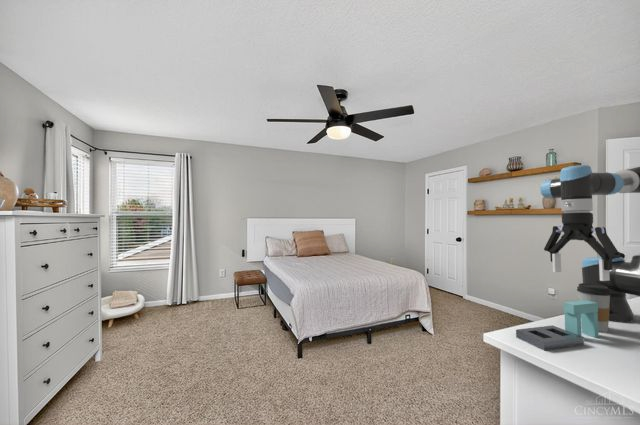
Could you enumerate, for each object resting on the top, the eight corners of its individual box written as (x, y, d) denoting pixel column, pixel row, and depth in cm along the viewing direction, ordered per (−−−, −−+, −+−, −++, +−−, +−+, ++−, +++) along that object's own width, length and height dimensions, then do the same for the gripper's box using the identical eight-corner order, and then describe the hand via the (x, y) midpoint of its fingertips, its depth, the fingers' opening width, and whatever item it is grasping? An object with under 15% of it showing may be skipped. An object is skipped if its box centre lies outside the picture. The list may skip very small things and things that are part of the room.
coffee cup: (620, 334, 87) (618, 289, 88) (590, 332, 89) (588, 288, 89) (598, 324, 96) (597, 283, 96) (572, 323, 97) (570, 282, 98)
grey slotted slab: (553, 332, 89) (552, 325, 90) (584, 345, 81) (583, 337, 81) (516, 337, 87) (516, 329, 87) (544, 350, 78) (543, 342, 78)
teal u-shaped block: (587, 332, 90) (585, 299, 90) (600, 336, 86) (598, 303, 86) (563, 335, 88) (562, 302, 88) (576, 340, 84) (574, 305, 84)
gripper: (530, 213, 99) (532, 269, 99) (616, 211, 75) (619, 285, 74) (547, 213, 101) (549, 268, 100) (636, 210, 76) (639, 284, 76)
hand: (579, 275), depth 87 cm, fingers open, 13 cm apart
